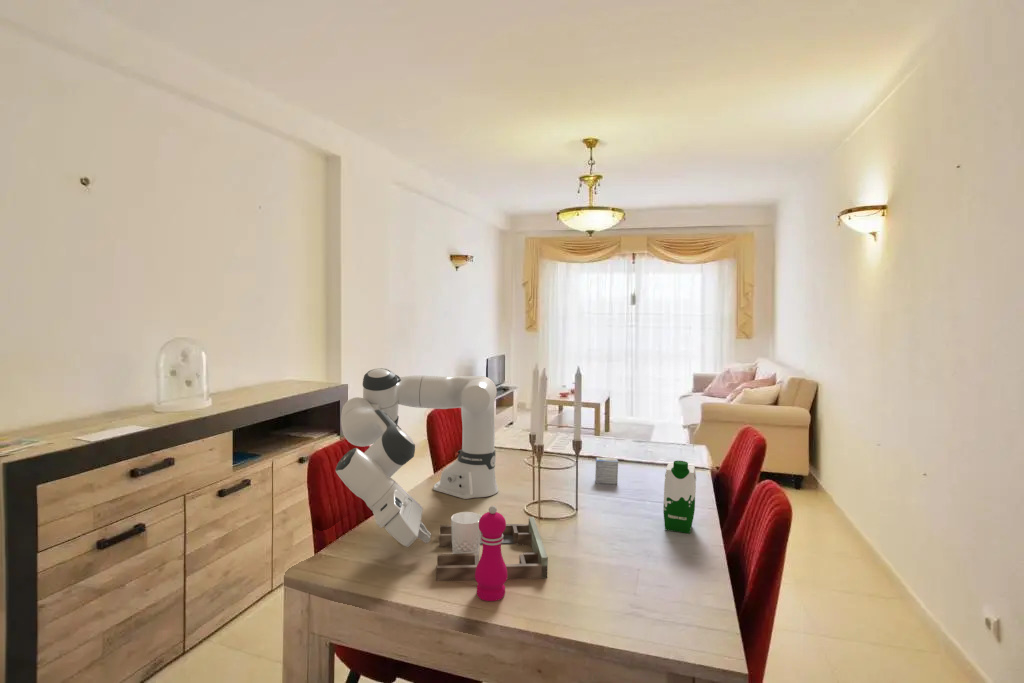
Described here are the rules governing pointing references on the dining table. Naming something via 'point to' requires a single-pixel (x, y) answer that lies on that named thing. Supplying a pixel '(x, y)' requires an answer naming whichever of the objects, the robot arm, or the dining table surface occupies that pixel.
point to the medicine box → (606, 470)
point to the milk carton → (679, 496)
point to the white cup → (465, 533)
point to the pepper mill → (491, 557)
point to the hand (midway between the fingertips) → (429, 539)
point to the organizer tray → (513, 534)
